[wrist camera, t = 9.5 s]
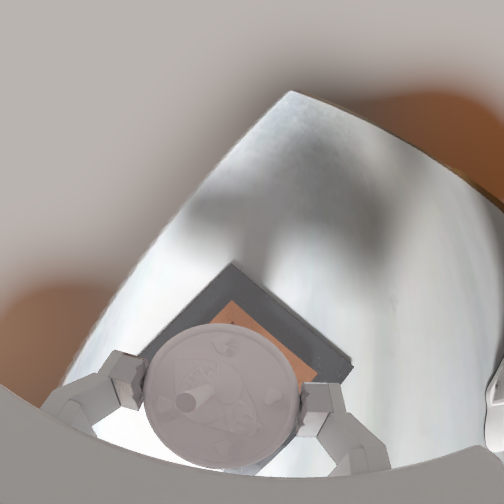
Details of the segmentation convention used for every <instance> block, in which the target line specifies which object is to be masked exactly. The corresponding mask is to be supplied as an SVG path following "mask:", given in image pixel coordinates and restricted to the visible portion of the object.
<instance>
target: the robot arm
mask: <svg viewBox="0 0 504 504" xmlns="http://www.w3.org/2000/svg"><path fill="white" fill-rule="evenodd" d="M148 365H149V364H148V360H147V359H146V358H142V357H139V356H135V355H132V354H128V353H124V352H121V351H118V350H114V351H112V352H111V354H110V355H109V357H108V358H107V360H106V361H105V363H104V364H103V365H102V367H101V368H100V370H99V371H98V373H92V374H90V375H88V376H86V377H83V378H81V379H79V380H76V381H74V382H72V383H69V384H67V385H65V386H62V387H60V388H58V389H55V390H53V391H52V393H51V394H50V395H49V397H48V398H47V399H46V401H45V402H44V404H43V405H42V406H41V408H40V409H38V408H36V407H34V406H33V405H31V404H30V403H28V402H27V401H25V400H23V399H22V398H20V397H19V396H17V395H16V394H14V393H13V392H11V391H10V390H8V389H7V388H5V387H4V386H3V385H1V384H0V504H504V466H503V464H502V462H501V460H500V458H499V457H497V456H496V455H495V454H493V453H492V452H494V453H497V452H501V451H504V358H503V360H502V362H501V364H500V366H499V368H498V370H497V372H496V373H495V375H494V377H493V379H492V381H491V382H490V384H489V386H488V388H487V391H486V402H487V416H486V423H485V441H486V445H487V447H488V449H489V450H490V451H491V452H490V451H489V450H487V449H486V448H484V447H482V446H480V445H474V446H471V447H468V448H465V449H463V450H460V451H457V452H454V453H451V454H448V455H445V456H442V457H439V458H435V459H432V460H428V461H424V462H421V463H417V464H412V465H408V466H404V467H399V468H394V469H391V465H390V461H389V457H388V453H387V450H386V446H385V444H384V443H382V442H381V441H380V440H379V439H378V438H377V437H376V436H375V435H374V434H372V433H371V432H370V431H369V430H368V429H367V428H366V427H365V426H364V425H363V424H362V423H360V422H359V421H358V420H357V419H356V418H355V417H354V416H353V415H352V414H351V413H346V408H345V404H344V399H343V395H342V391H341V386H340V384H339V383H318V382H303V383H302V385H301V388H300V390H301V393H300V394H299V397H300V402H299V411H298V416H297V418H298V419H297V422H296V436H300V437H316V438H317V440H318V441H319V442H320V444H321V445H322V446H323V448H324V449H325V450H326V452H327V453H328V454H329V455H330V457H331V458H332V459H333V461H334V462H335V463H336V465H337V466H336V467H335V469H334V470H333V471H332V472H331V473H330V474H329V475H328V477H313V478H283V477H263V476H250V475H240V474H232V473H224V472H218V471H212V470H206V469H200V468H195V467H190V466H185V465H181V464H177V463H172V462H168V461H165V460H161V459H157V458H154V457H150V456H147V455H143V454H140V453H137V452H134V451H131V450H128V449H125V448H122V447H119V446H117V445H114V444H111V443H109V442H106V441H104V440H101V439H99V438H97V435H96V433H95V432H94V430H93V428H92V426H93V425H94V424H96V423H97V422H99V421H100V420H102V419H103V418H105V417H106V416H108V415H109V414H111V413H112V412H114V411H115V410H117V409H118V408H120V407H121V406H123V407H126V408H130V409H133V410H137V411H139V409H140V407H141V404H142V402H143V386H144V380H145V375H146V372H147V367H148Z"/></svg>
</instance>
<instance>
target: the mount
mask: <svg viewBox="0 0 504 504" xmlns="http://www.w3.org/2000/svg"><path fill="white" fill-rule="evenodd" d="M212 323H225V324H233V325H238V326H241V327H245V328H248V329H250V330H253V331H255V332H257V333H259V334H261V335H262V336H264V337H265V338H267V339H268V340H269V341H271V342H272V343H273V344H274V345H275V346H277V347H278V348H279V350H280V351H281V352H282V353H283V354H284V356H285V357H286V358H287V360H288V361H289V363H290V365H291V366H292V369H293V371H294V373H295V376H296V379H297V382H298V387H299V394H300V393H301V390H300V388H301V385H302V383H303V382H318V383H339V384H340V385H341V383H342V382H343V381H344V380H345V378H346V377H347V376H348V374H349V373H350V372H351V370H352V369H353V368H354V366H353V365H351V364H350V363H349V362H348V361H346V360H345V359H344V358H343V357H341V356H340V355H339V354H338V353H337V352H335V351H334V350H333V349H332V348H331V347H329V346H328V345H327V344H326V343H324V342H323V341H322V340H321V339H320V338H318V337H317V336H316V335H315V334H314V333H312V332H311V331H310V330H309V329H308V328H306V327H305V326H304V325H303V324H302V323H300V322H299V321H298V320H297V319H296V318H295V317H293V316H292V315H291V314H290V313H289V312H287V311H286V310H285V309H284V308H283V307H282V306H280V305H279V304H278V303H277V302H276V301H274V300H273V299H272V298H271V297H270V296H269V295H267V294H266V293H265V292H264V291H263V290H262V289H260V288H259V287H258V286H257V285H256V284H255V283H253V282H252V281H251V280H250V279H249V278H248V277H246V276H245V275H244V274H243V273H242V272H241V271H240V270H238V269H237V268H236V267H235V266H234V265H233V264H231V265H230V266H229V267H228V268H227V269H226V270H225V271H224V272H223V273H222V274H221V275H220V276H219V277H218V278H217V279H216V280H215V281H214V282H213V283H212V284H211V285H210V286H209V287H208V288H207V289H206V290H205V291H204V292H203V293H202V294H201V295H200V296H199V297H198V298H197V299H196V300H195V301H194V302H193V303H192V304H191V305H190V306H189V307H188V308H187V309H186V310H185V311H184V312H183V313H182V314H181V315H180V316H179V317H178V318H177V319H176V320H175V321H174V322H173V323H172V324H171V325H170V326H169V327H168V328H167V329H166V330H165V331H164V332H163V333H162V334H161V335H160V336H159V337H158V338H157V339H156V340H155V341H154V342H153V343H152V344H151V345H150V346H149V347H148V348H147V349H146V350H145V351H144V352H143V353H142V354H141V355H140V356H139V357H142V358H146V359H147V360H148V364H149V365H150V363H151V361H152V359H153V357H154V356H155V354H156V353H157V352H158V350H159V349H160V348H161V347H162V346H163V345H164V344H165V343H166V342H167V341H168V340H170V339H171V338H172V337H174V336H175V335H177V334H179V333H180V332H182V331H184V330H187V329H189V328H192V327H195V326H199V325H204V324H212ZM149 365H148V367H149ZM148 367H147V369H148ZM297 419H298V418H297ZM297 419H296V422H297ZM296 422H295V425H294V427H293V429H292V431H291V433H290V435H289V436H288V437H287V439H286V440H285V442H284V443H283V444H282V445H281V446H280V447H279V448H278V449H277V450H276V451H275V452H274V453H272V454H271V455H269V456H268V457H266V458H265V459H263V460H261V461H259V462H257V463H255V464H252V465H249V466H246V467H242V468H236V469H221V470H222V471H224V472H225V473H232V474H240V475H250V476H254V475H256V474H257V473H258V472H259V471H260V470H261V469H262V468H263V467H264V466H266V465H267V464H268V463H269V462H270V461H271V460H272V459H273V458H274V457H275V456H276V455H277V454H278V453H279V452H280V451H281V450H282V449H283V448H285V447H286V446H287V445H288V444H289V442H290V441H291V440H292V439H293V438H294V437H295V436H296Z"/></svg>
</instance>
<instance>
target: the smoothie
mask: <svg viewBox="0 0 504 504" xmlns="http://www.w3.org/2000/svg"><path fill="white" fill-rule="evenodd" d="M143 401H144V407H145V412H146V415H147V418H148V420H149V423H150V425H151V427H152V429H153V430H154V432H155V433H156V435H157V436H158V438H159V439H160V440H161V441H162V442H163V444H164V445H166V446H167V447H168V448H169V449H170V450H171V451H172V452H174V453H175V454H176V455H178V456H179V457H181V458H183V459H185V460H186V461H189V462H191V463H193V464H196V465H199V466H202V467H207V468H212V469H236V468H242V467H246V466H249V465H252V464H255V463H257V462H259V461H261V460H263V459H265V458H266V457H268V456H269V455H271V454H272V453H274V452H275V451H276V450H277V449H278V448H279V447H280V446H281V445H282V444H283V443H284V442H285V440H286V439H287V437H288V436H289V435H290V433H291V431H292V429H293V427H294V425H295V422H296V419H297V416H298V411H299V402H300V397H299V387H298V382H297V379H296V376H295V373H294V371H293V369H292V366H291V365H290V363H289V361H288V360H287V358H286V357H285V356H284V354H283V353H282V352H281V351H280V350H279V348H278V347H277V346H275V345H274V344H273V343H272V342H271V341H269V340H268V339H267V338H265V337H264V336H262V335H261V334H259V333H257V332H255V331H253V330H250V329H248V328H245V327H241V326H238V325H233V324H225V323H212V324H204V325H199V326H195V327H192V328H189V329H187V330H184V331H182V332H180V333H179V334H177V335H175V336H174V337H172V338H171V339H170V340H168V341H167V342H166V343H165V344H164V345H163V346H162V347H161V348H160V349H159V350H158V352H157V353H156V354H155V356H154V357H153V359H152V361H151V363H150V365H149V367H148V369H147V372H146V375H145V380H144V386H143Z"/></svg>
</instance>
